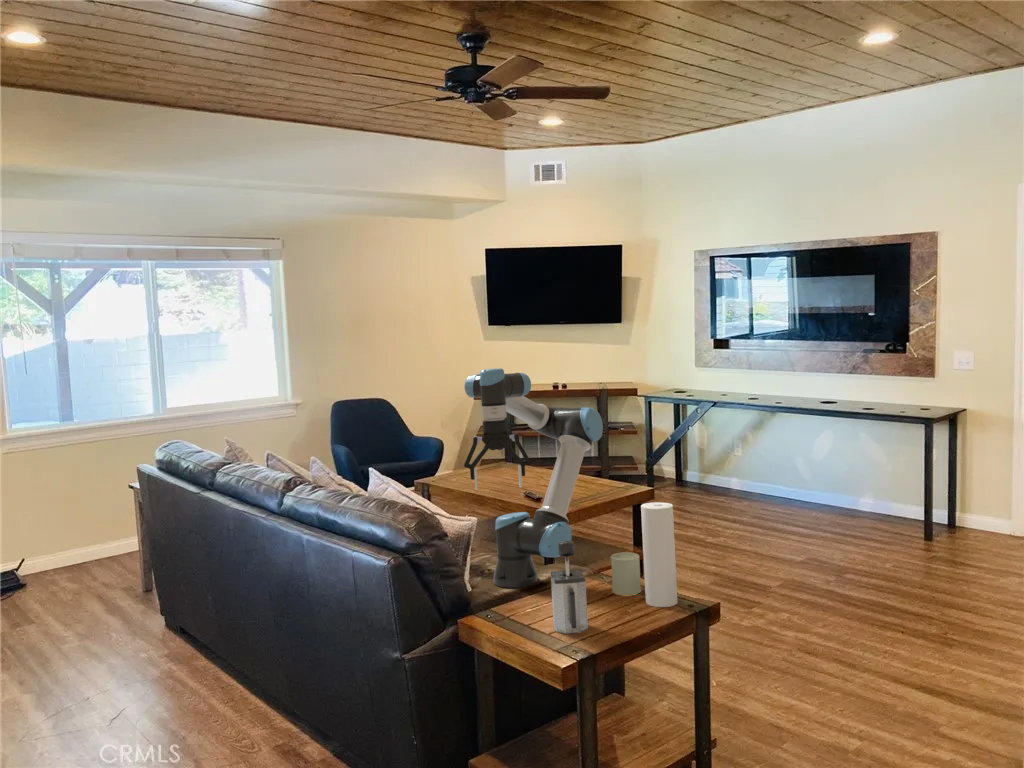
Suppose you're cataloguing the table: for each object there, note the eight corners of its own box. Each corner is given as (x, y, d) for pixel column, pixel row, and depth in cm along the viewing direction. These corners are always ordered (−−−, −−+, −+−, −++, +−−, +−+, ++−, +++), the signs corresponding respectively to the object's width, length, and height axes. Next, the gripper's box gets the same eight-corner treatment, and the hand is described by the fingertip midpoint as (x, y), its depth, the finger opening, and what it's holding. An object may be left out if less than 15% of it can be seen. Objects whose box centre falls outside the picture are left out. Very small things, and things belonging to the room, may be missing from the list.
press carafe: (551, 622, 219) (548, 571, 218) (584, 620, 220) (582, 568, 219) (557, 639, 207) (554, 584, 206) (592, 636, 207) (589, 581, 207)
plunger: (556, 610, 217) (552, 540, 217) (579, 608, 218) (575, 539, 217) (559, 618, 211) (555, 546, 210) (583, 616, 211) (579, 544, 210)
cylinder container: (677, 607, 226) (672, 506, 225) (645, 606, 228) (640, 507, 227) (677, 596, 235) (672, 500, 234) (646, 596, 237) (641, 500, 236)
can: (612, 587, 248) (610, 550, 248) (641, 587, 247) (639, 550, 246) (612, 596, 239) (610, 558, 239) (642, 596, 238) (640, 558, 237)
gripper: (453, 423, 228) (457, 493, 229) (536, 417, 230) (540, 487, 231) (453, 420, 236) (457, 489, 237) (534, 415, 237) (537, 483, 238)
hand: (498, 488), depth 234 cm, fingers open, 13 cm apart
